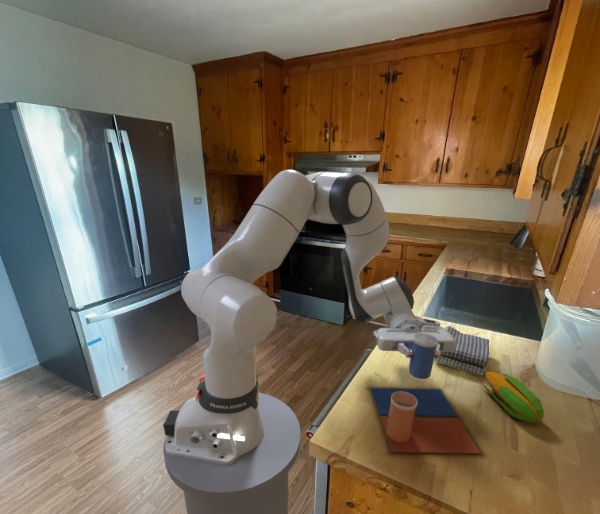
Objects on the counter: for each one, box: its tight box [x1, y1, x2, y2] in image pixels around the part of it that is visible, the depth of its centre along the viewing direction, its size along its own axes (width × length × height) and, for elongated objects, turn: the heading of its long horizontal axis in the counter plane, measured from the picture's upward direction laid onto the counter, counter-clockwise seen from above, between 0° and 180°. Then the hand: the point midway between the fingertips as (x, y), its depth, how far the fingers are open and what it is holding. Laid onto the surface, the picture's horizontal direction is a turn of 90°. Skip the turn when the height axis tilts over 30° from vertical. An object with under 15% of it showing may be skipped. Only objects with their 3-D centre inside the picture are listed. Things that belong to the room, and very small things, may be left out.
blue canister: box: [407, 333, 438, 380], centre depth 83 cm, size 6×6×10 cm
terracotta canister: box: [386, 391, 418, 442], centre depth 76 cm, size 6×6×10 cm
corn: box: [482, 371, 545, 424], centre depth 88 cm, size 7×8×20 cm
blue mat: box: [370, 387, 458, 418], centre depth 89 cm, size 20×11×1 cm, turn 90°
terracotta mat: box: [380, 416, 482, 455], centre depth 78 cm, size 20×11×1 cm, turn 90°
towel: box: [434, 325, 490, 377], centre depth 110 cm, size 15×18×8 cm
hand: (424, 355), depth 82 cm, fingers closed on blue canister, 5 cm apart
